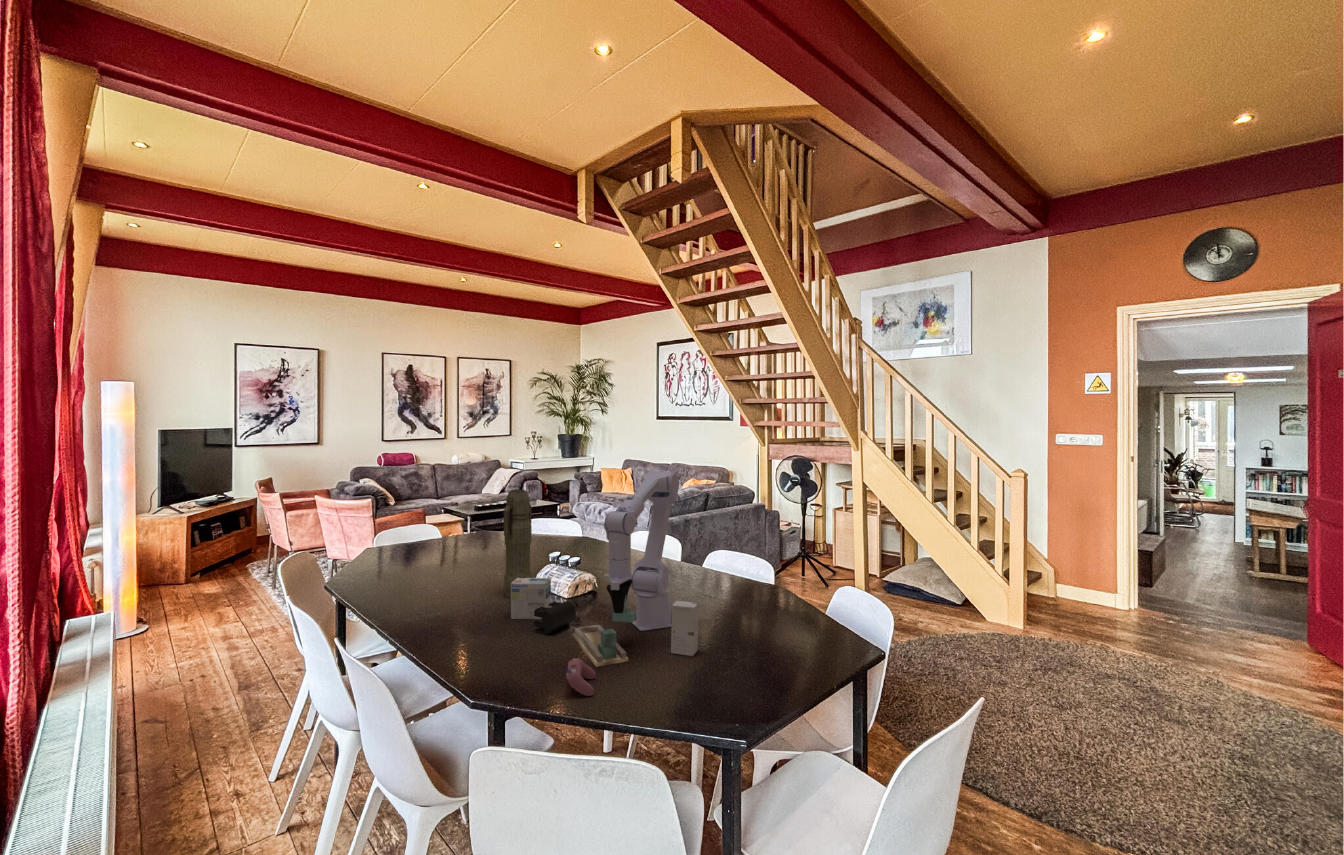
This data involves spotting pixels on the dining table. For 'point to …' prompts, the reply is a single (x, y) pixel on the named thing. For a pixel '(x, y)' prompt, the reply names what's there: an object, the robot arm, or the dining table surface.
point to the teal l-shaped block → (624, 615)
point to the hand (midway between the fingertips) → (619, 610)
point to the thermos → (517, 537)
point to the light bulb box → (529, 596)
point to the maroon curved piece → (574, 676)
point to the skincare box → (684, 628)
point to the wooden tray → (600, 645)
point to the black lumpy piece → (554, 616)
